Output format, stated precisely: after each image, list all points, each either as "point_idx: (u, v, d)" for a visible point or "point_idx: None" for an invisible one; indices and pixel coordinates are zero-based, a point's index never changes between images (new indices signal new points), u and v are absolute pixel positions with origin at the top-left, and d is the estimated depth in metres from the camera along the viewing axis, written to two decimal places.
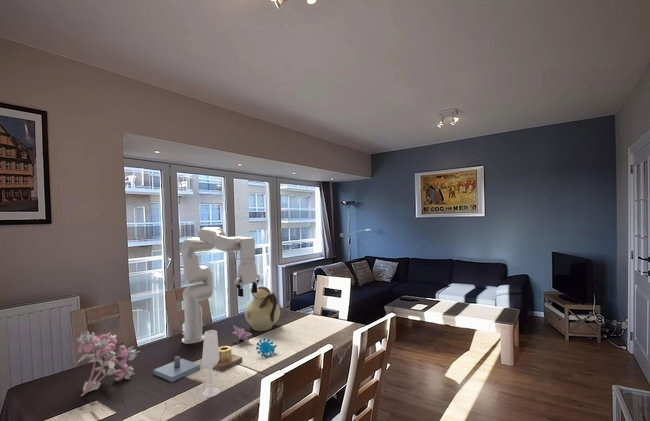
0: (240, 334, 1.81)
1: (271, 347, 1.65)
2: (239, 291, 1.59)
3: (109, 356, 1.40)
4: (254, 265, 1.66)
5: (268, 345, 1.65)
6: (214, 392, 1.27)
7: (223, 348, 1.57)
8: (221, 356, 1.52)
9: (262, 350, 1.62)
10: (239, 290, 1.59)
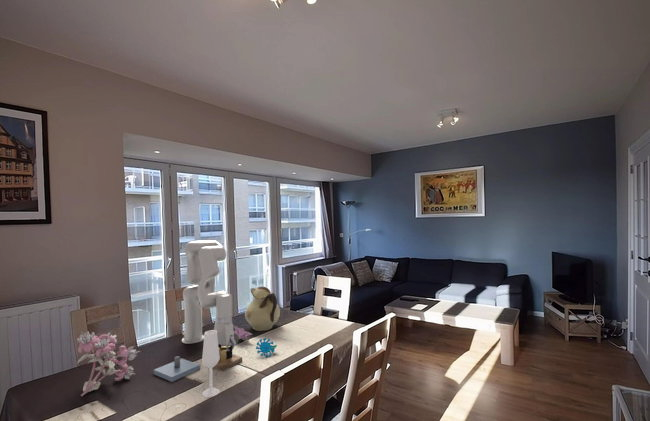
0: (240, 334, 1.82)
1: (271, 347, 1.65)
2: (230, 353, 1.53)
3: (109, 356, 1.40)
4: None
5: (268, 345, 1.66)
6: (214, 392, 1.27)
7: (223, 348, 1.57)
8: (221, 356, 1.52)
9: (262, 350, 1.62)
10: (230, 352, 1.53)
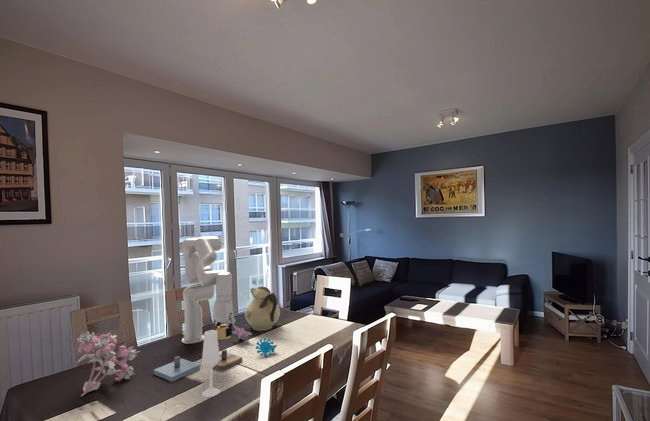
0: (240, 334, 1.82)
1: (271, 347, 1.65)
2: (230, 330, 1.54)
3: (109, 356, 1.40)
4: None
5: (268, 345, 1.66)
6: (214, 392, 1.27)
7: (223, 326, 1.58)
8: (220, 333, 1.53)
9: (262, 350, 1.63)
10: (230, 329, 1.54)
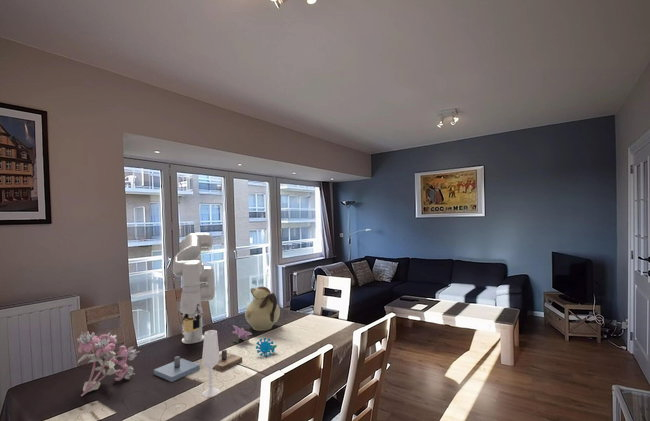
0: (240, 334, 1.82)
1: (271, 347, 1.66)
2: (197, 322, 1.48)
3: (109, 356, 1.40)
4: None
5: (268, 345, 1.66)
6: (214, 392, 1.27)
7: (190, 318, 1.52)
8: (187, 326, 1.47)
9: (261, 349, 1.63)
10: (197, 321, 1.48)
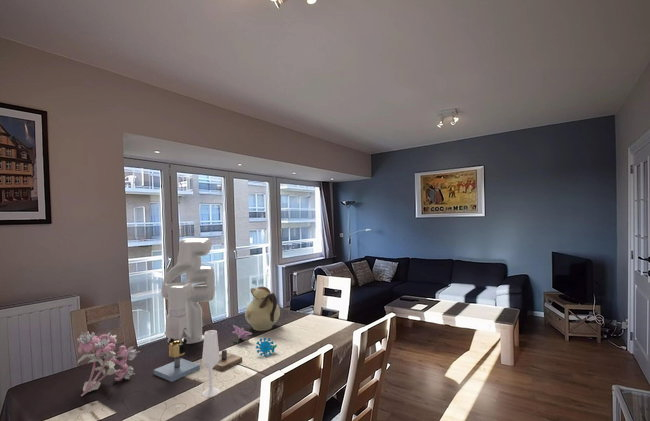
0: (240, 334, 1.82)
1: (271, 347, 1.66)
2: (184, 347, 1.46)
3: (109, 356, 1.40)
4: None
5: (268, 344, 1.66)
6: (214, 392, 1.27)
7: (176, 343, 1.49)
8: (173, 351, 1.44)
9: (261, 349, 1.63)
10: (184, 346, 1.46)
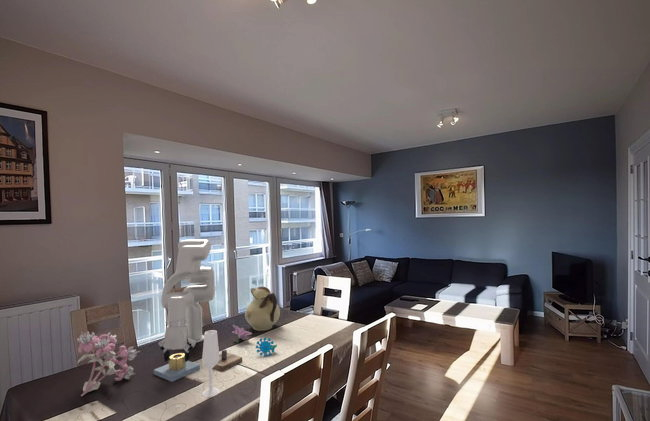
0: (240, 333, 1.82)
1: (271, 347, 1.66)
2: (189, 354, 1.47)
3: (109, 356, 1.40)
4: None
5: (268, 344, 1.66)
6: (214, 392, 1.27)
7: (174, 356, 1.48)
8: (177, 364, 1.44)
9: (261, 349, 1.63)
10: (189, 353, 1.47)
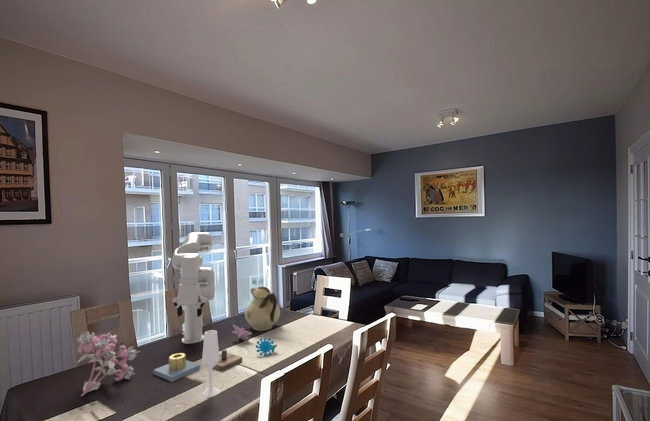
0: (240, 333, 1.83)
1: (271, 346, 1.66)
2: (201, 310, 1.56)
3: (109, 356, 1.40)
4: None
5: (268, 344, 1.66)
6: (214, 392, 1.27)
7: (174, 356, 1.48)
8: (177, 364, 1.44)
9: (261, 349, 1.63)
10: (201, 309, 1.56)
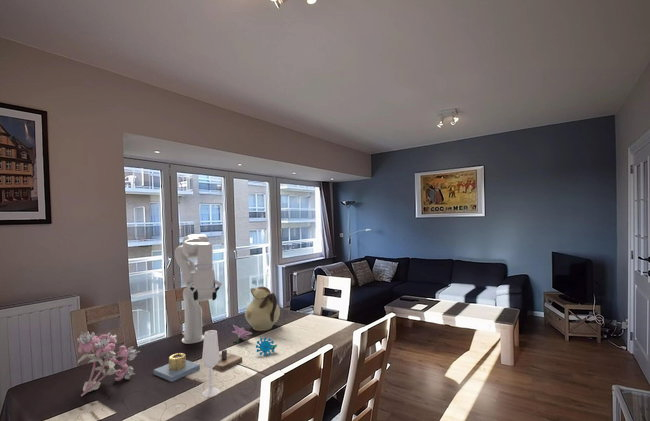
0: (240, 333, 1.83)
1: (271, 346, 1.66)
2: (216, 294, 1.67)
3: (109, 356, 1.40)
4: None
5: (268, 344, 1.66)
6: (214, 392, 1.27)
7: (174, 356, 1.48)
8: (177, 364, 1.44)
9: (261, 349, 1.64)
10: (216, 293, 1.67)
